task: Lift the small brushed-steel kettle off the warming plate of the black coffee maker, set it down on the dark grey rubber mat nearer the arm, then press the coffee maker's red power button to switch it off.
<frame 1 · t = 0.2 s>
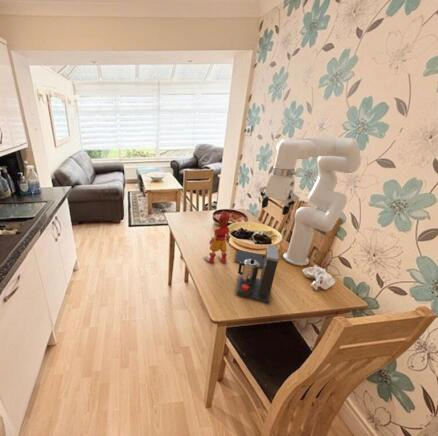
hand: (274, 210, 105), 37 cm above the table, tool pointing down, fingers open, 9 cm apart
power button: (245, 287, 109), point 4 cm above the table, slide at 0.1 cm
coffee maker: (252, 289, 113), on the table
toy: (216, 260, 136), on the table
brewer column: (263, 291, 111), resting on coffee maker
kettle: (248, 278, 115), point 3 cm above the table, touching brewer column
mat: (249, 258, 136), on the table
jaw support: (318, 284, 116), on the table
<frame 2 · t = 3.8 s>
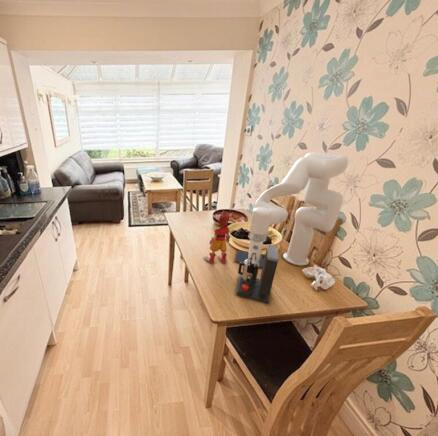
hand: (250, 268, 113), 9 cm above the table, tool pointing down, fingers closed on kettle, 6 cm apart
kettle: (248, 278, 115), point 3 cm above the table, touching brewer column, gripper
everything else where it was.
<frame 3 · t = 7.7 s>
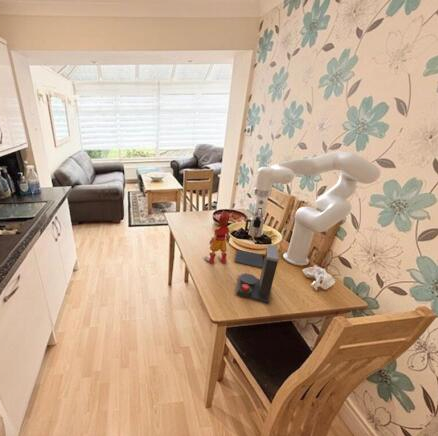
hand: (256, 224, 126), 23 cm above the table, tool pointing down, fingers closed on kettle, 6 cm apart
kettle: (254, 234, 129), point 16 cm above the table, touching gripper
everything else where it was.
when the fingers open (7 cm above the table, at t = 11.7 s): kettle stays where it is, resting on mat.
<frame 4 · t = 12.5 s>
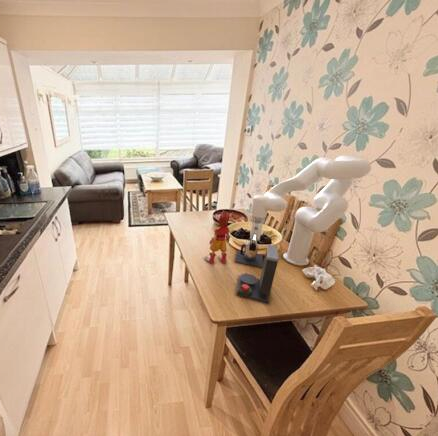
hand: (252, 246, 133), 8 cm above the table, tool pointing down, fingers open, 9 cm apart
kettle: (249, 258, 136), point 1 cm above the table, touching mat
everything else where it was.
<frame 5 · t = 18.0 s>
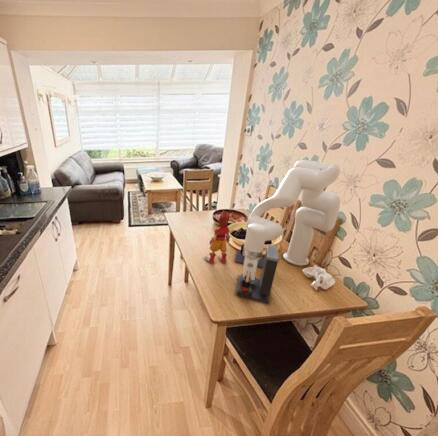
hand: (245, 286, 108), 4 cm above the table, tool pointing down, fingers closed
power button: (245, 287, 109), point 3 cm above the table, slide at 0.1 cm, touching gripper
everything else where it was.
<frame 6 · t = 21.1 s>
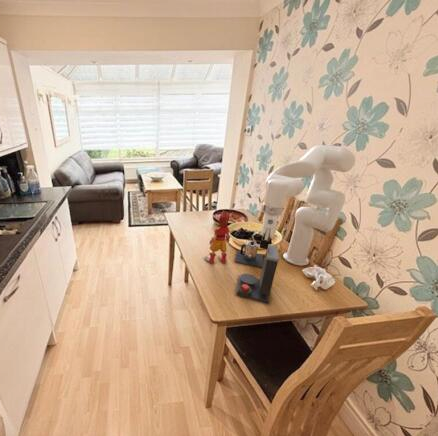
hand: (263, 247, 106), 22 cm above the table, tool pointing down, fingers closed
power button: (245, 287, 109), point 4 cm above the table, slide at 0.1 cm
everything else where it was.
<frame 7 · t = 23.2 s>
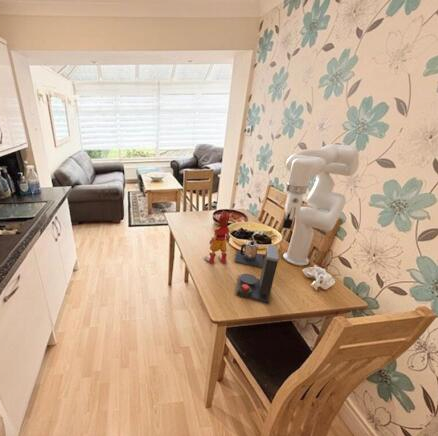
hand: (286, 227, 108), 29 cm above the table, tool pointing down, fingers closed
nothing on the table moved.
at the end: kettle inside the target area on the mat (0.1 cm from its centre), point 0.6 cm above the mat's base; kettle tilted 0°; power button pushed in 1.1 cm at the most during the clip, back to where it started at the end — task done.
